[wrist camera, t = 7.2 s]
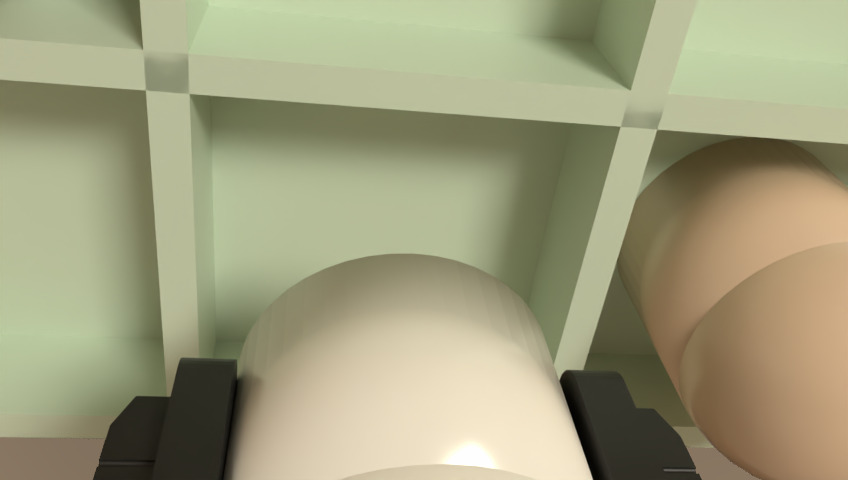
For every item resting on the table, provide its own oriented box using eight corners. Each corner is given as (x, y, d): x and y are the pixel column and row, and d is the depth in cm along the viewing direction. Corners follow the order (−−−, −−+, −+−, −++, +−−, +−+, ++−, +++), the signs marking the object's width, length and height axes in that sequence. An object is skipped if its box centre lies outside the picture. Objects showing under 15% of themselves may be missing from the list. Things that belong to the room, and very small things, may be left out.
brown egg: (650, 129, 15) (804, 332, 10) (873, 144, 16) (1119, 343, 11) (593, 320, 17) (694, 558, 13) (787, 326, 18) (956, 555, 13)
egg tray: (-550, -745, 8) (-870, -911, 6) (1204, -397, 12) (1411, -422, 9) (-166, 334, 16) (-245, 433, 14) (812, 365, 20) (874, 450, 17)
